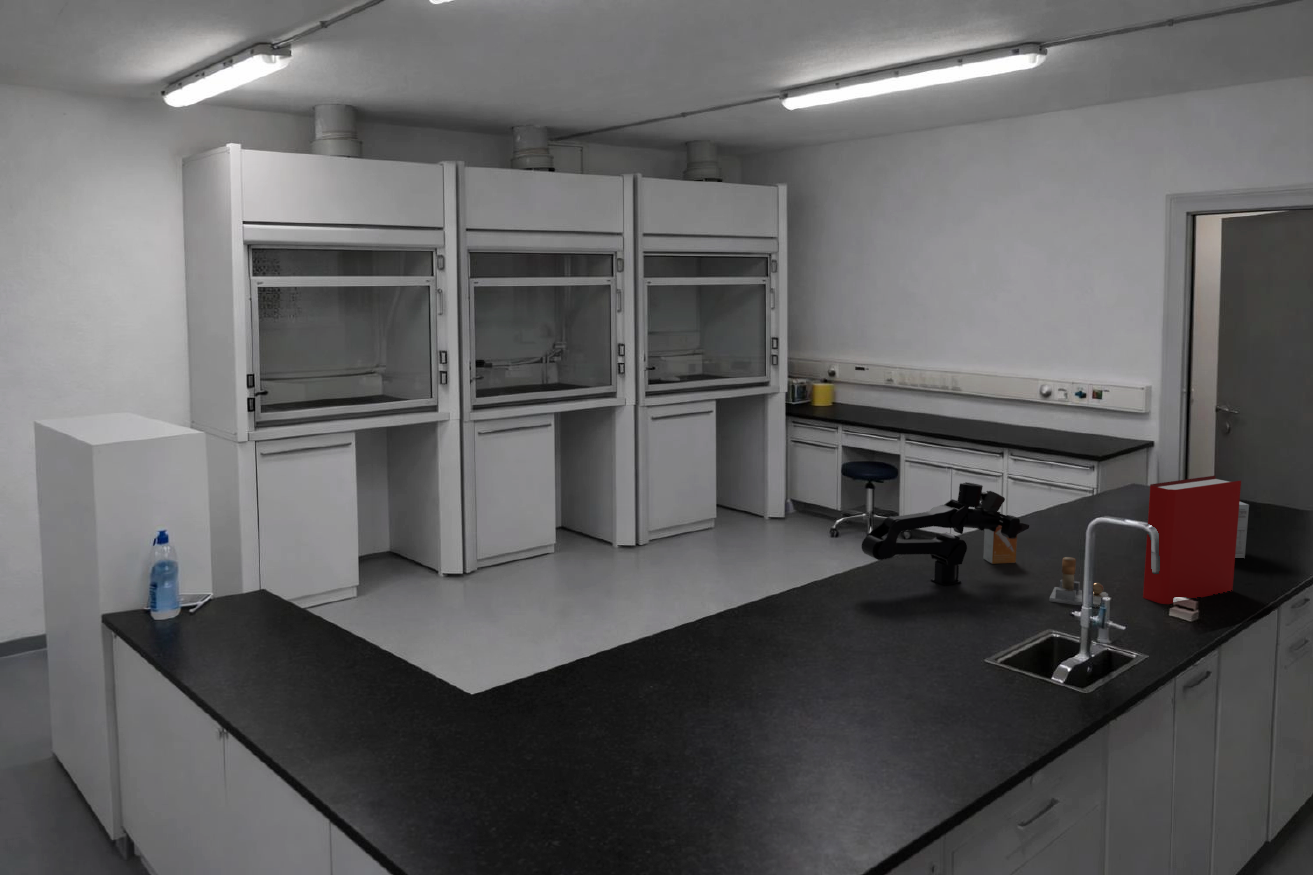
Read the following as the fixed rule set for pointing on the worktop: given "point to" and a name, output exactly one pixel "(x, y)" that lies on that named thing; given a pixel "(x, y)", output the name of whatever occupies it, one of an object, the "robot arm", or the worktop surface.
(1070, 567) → the lever
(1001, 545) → the small box
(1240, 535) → the supplement box
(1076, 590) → the nutcracker base
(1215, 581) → the book
